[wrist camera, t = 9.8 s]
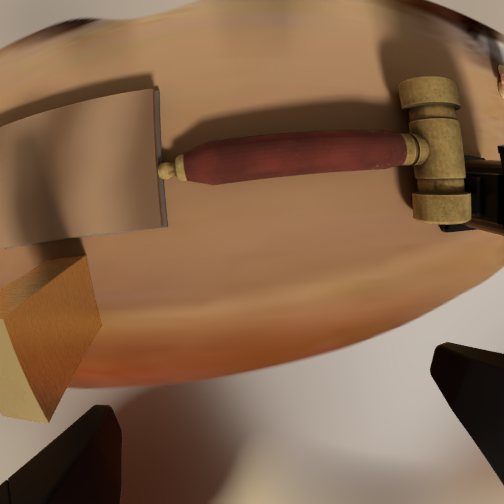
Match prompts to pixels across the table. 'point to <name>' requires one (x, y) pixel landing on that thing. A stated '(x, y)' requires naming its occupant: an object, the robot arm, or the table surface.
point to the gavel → (355, 153)
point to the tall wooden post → (44, 336)
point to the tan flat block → (82, 170)
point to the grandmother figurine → (502, 85)
